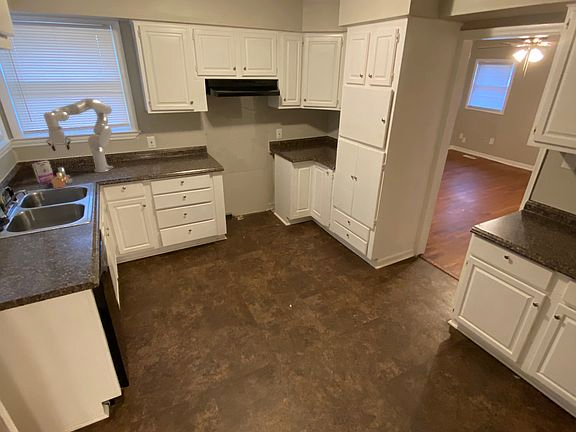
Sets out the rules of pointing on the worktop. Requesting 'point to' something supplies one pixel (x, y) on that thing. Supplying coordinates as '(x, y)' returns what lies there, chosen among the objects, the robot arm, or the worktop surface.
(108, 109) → the robot arm
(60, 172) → the locking pin
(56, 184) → the rosette post
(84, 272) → the worktop surface
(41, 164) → the candy bar box
